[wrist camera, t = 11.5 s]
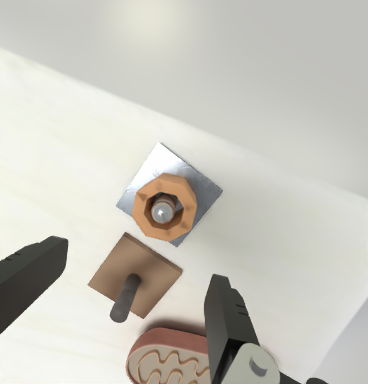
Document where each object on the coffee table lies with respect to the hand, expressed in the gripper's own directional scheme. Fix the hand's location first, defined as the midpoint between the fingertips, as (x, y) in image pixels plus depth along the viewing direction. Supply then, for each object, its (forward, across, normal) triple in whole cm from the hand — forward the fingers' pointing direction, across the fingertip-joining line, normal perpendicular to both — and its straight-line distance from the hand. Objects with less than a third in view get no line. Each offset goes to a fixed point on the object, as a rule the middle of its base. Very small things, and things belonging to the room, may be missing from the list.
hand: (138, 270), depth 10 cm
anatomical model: (+16, -11, +24) cm, 31 cm away
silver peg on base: (+15, 0, 0) cm, 16 cm away
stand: (+16, +2, +13) cm, 20 cm away
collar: (+14, 0, 0) cm, 15 cm away
